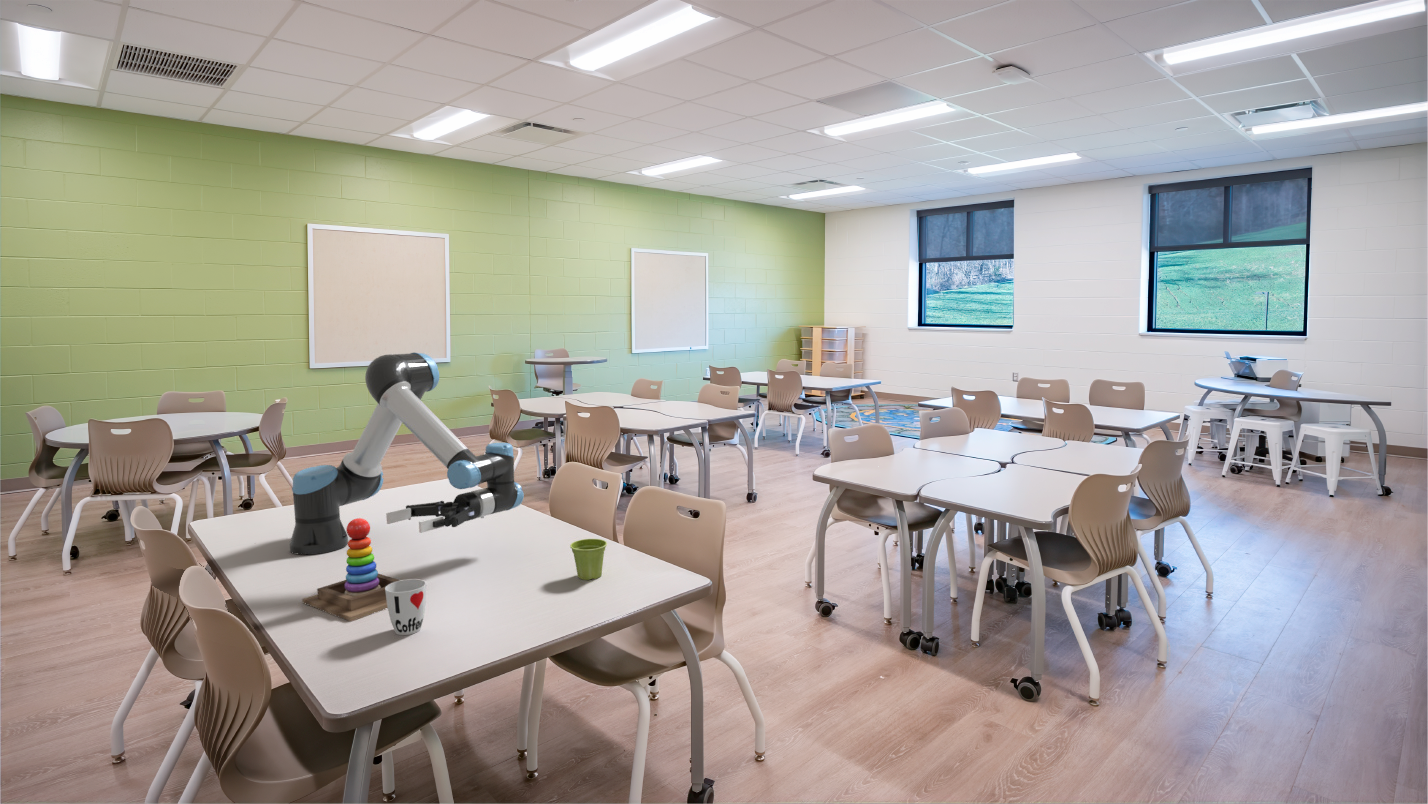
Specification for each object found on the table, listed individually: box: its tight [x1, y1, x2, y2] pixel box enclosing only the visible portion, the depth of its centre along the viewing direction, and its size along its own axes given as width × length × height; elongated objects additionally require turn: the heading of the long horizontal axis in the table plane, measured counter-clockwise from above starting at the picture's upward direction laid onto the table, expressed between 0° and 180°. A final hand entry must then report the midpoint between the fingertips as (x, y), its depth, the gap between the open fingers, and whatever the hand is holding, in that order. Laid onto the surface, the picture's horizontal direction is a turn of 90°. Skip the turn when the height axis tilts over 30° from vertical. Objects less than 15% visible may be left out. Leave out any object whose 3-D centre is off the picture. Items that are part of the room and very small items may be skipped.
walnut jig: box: [302, 573, 402, 622], centre depth 177 cm, size 20×18×4 cm
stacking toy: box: [344, 517, 381, 597], centre depth 176 cm, size 8×8×19 cm
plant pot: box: [569, 538, 608, 581], centre depth 192 cm, size 9×9×9 cm
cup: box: [385, 578, 427, 636], centre depth 159 cm, size 8×8×10 cm
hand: (403, 522), depth 185 cm, fingers open, 13 cm apart
